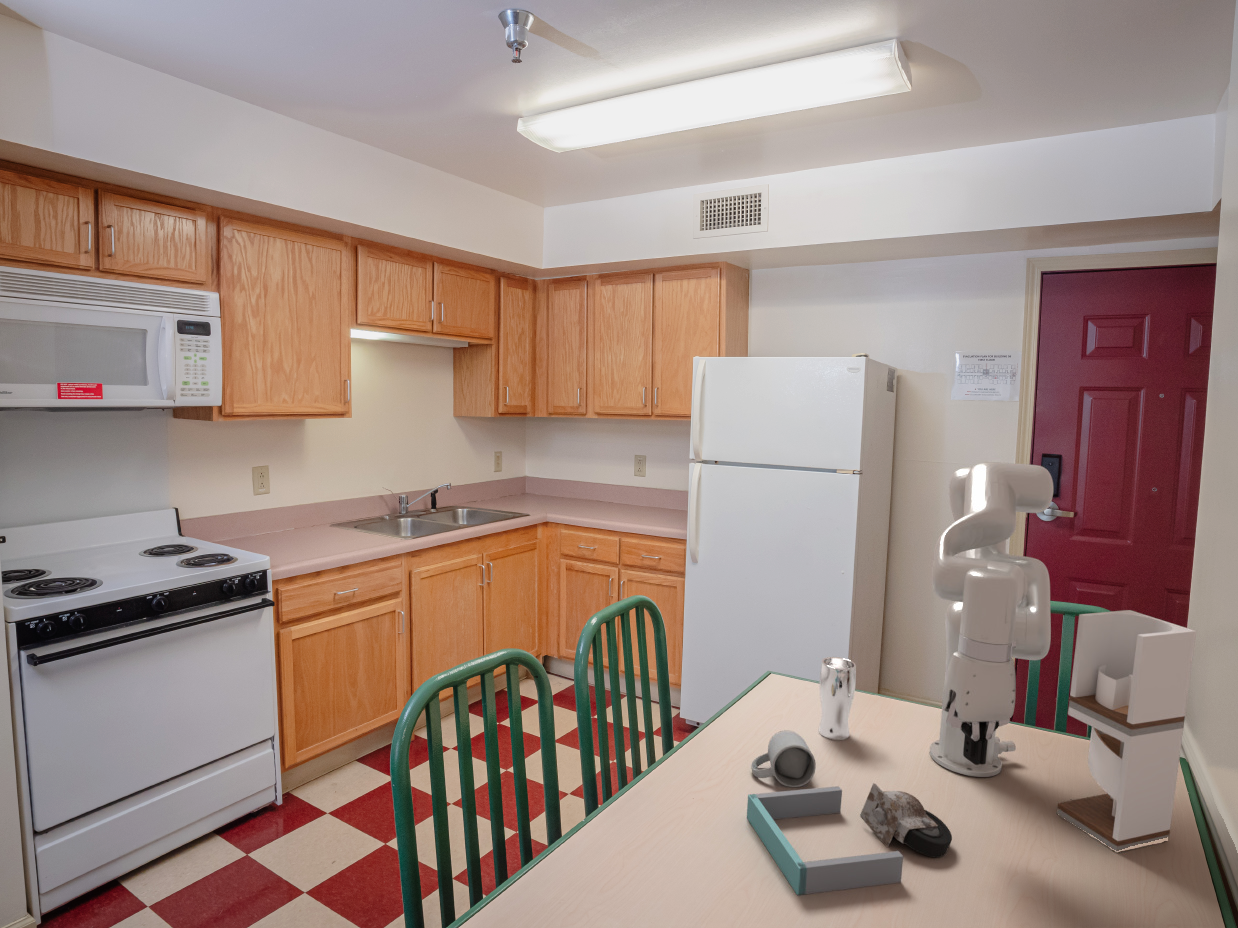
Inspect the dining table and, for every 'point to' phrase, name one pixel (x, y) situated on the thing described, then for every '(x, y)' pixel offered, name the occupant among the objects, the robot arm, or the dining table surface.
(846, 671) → the beer glass
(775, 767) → the ceramic mug
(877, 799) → the caster wheel
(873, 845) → the dining table surface
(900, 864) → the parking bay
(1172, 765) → the white shelf stand
